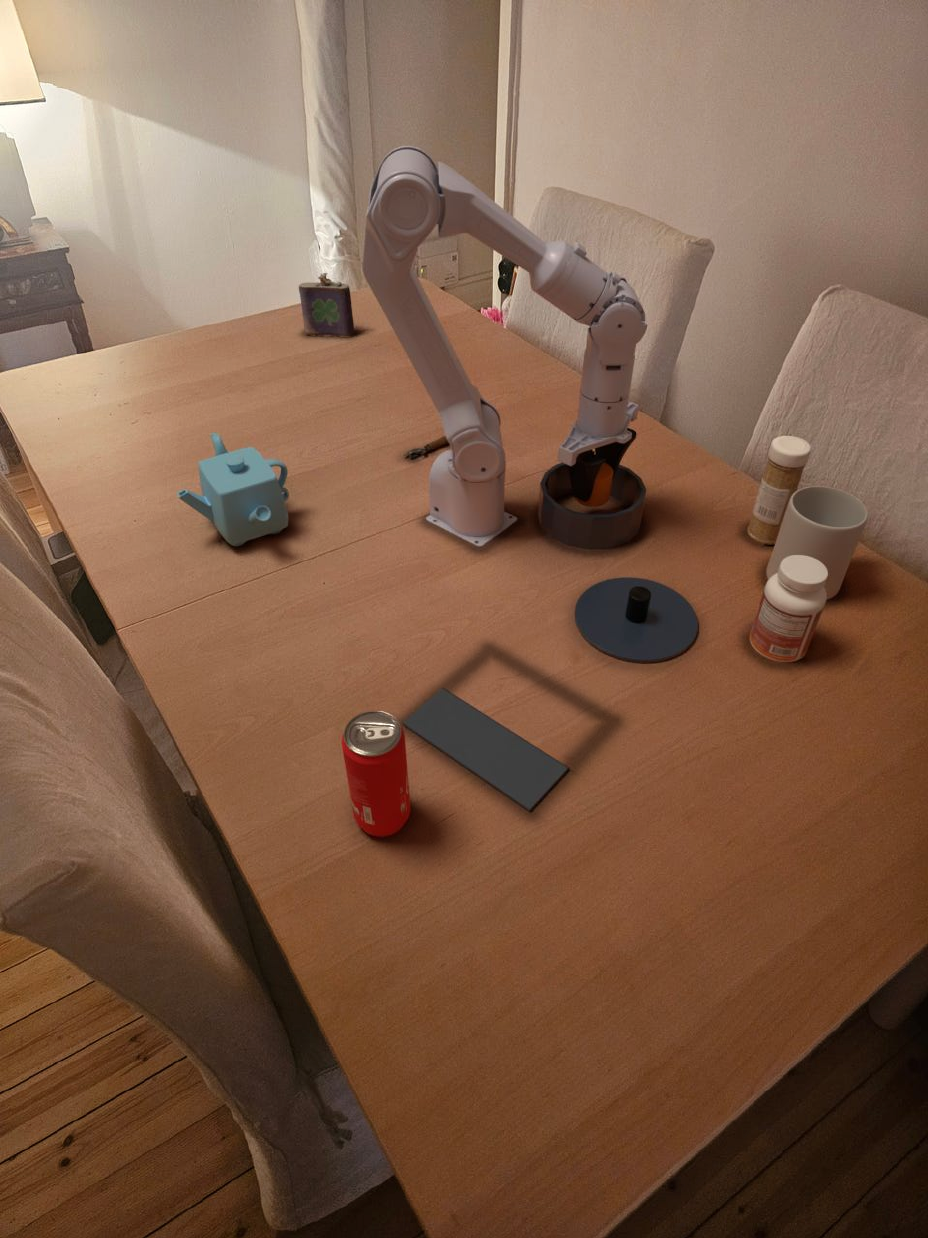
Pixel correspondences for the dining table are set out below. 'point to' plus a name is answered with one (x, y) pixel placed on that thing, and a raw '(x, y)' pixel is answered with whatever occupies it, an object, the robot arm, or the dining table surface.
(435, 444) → the can opener
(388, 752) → the beverage can
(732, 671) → the dining table surface
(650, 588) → the pot lid
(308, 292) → the flask
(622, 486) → the pot
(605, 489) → the pumpkin
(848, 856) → the dining table surface
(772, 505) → the sprinkles bottle
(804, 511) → the mug
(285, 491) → the teapot
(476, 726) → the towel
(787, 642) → the pill bottle
